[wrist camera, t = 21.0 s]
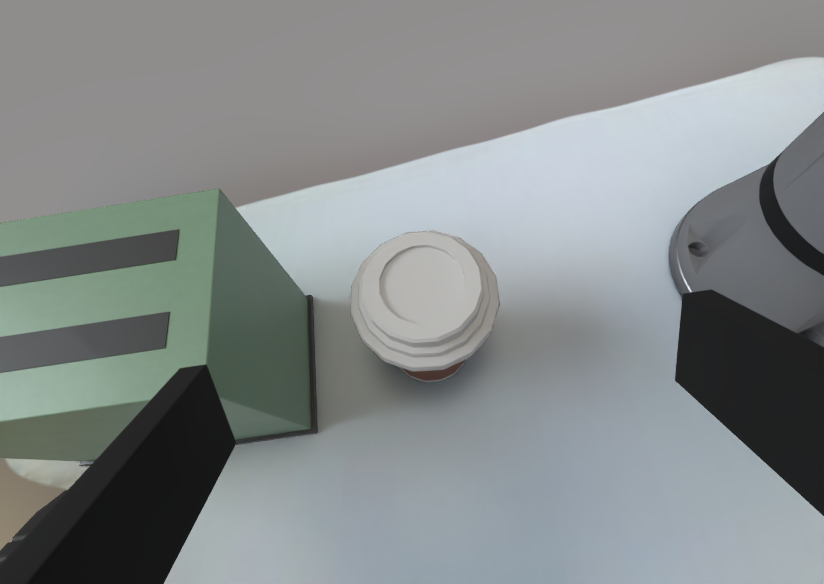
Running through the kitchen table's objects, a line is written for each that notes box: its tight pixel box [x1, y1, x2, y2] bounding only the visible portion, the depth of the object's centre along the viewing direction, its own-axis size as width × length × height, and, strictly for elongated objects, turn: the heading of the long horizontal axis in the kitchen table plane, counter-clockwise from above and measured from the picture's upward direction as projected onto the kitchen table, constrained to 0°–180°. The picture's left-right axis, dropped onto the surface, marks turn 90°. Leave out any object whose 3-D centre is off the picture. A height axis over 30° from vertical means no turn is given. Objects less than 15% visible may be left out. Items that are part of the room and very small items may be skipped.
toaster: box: [0, 189, 317, 466], centre depth 28 cm, size 20×12×16 cm, turn 97°
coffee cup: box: [351, 231, 500, 382], centre depth 29 cm, size 9×9×12 cm
